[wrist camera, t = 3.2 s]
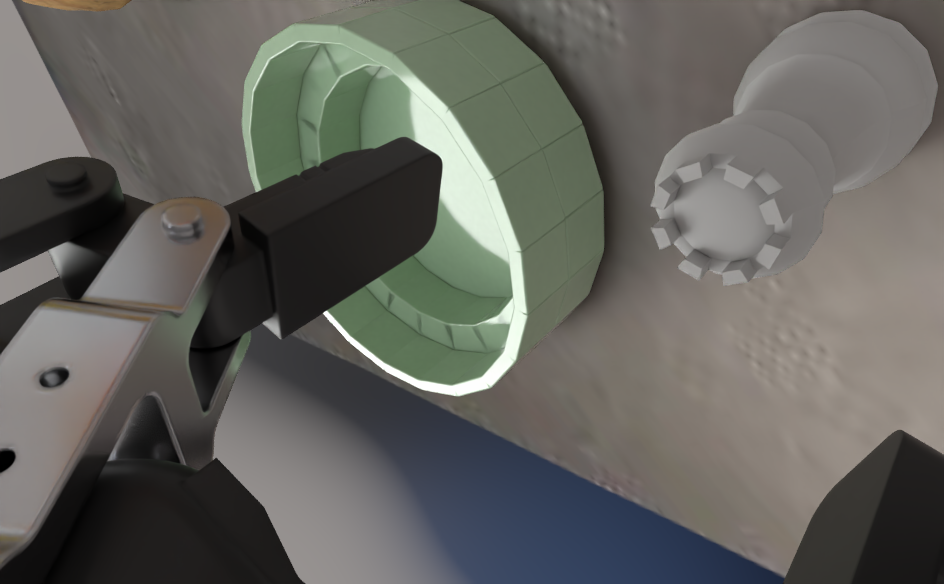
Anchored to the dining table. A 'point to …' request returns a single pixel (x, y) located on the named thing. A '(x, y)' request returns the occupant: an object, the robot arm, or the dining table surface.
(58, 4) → the potato
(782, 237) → the rook chess piece
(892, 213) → the dining table surface
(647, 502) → the dining table surface
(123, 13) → the dining table surface
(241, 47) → the dining table surface
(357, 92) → the bowl
